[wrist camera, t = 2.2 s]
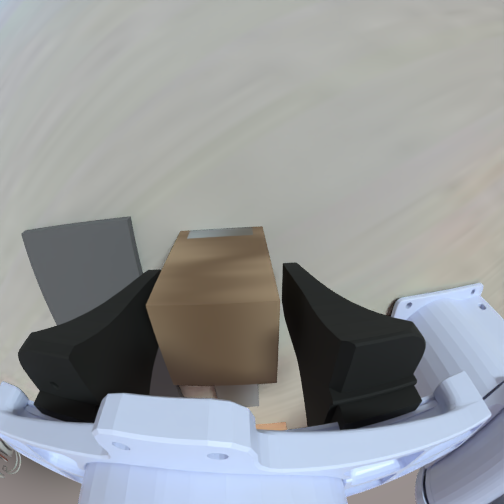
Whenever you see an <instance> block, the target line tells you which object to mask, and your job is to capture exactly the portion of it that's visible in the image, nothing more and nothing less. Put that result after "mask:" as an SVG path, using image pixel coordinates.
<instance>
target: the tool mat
mask: <svg viewBox="0 0 504 504" xmlns="http://www.w3.org/2000/svg"><path fill="white" fill-rule="evenodd" d="M22 238H23V241H24V245H25V248H26V251H27V254H28V257H29V260H30V263H31V266H32V268H33V271H34V274H35V276H36V279H37V282H38V284H39V287H40V289H41V291H42V294H43V296H44V298H45V301H46V303H47V305H48V307H49V310H50V312H51V314H52V316H53V318H54V320H55V322H56V324H57V325H60V324H63V323H65V322H68V321H70V320H73V319H75V318H77V317H79V316H81V315H83V314H85V313H87V312H89V311H91V310H93V309H94V308H96V307H98V306H99V305H101V304H103V303H104V302H106V301H107V300H109V299H110V298H111V297H113V296H114V295H115V294H117V293H118V292H120V291H121V290H122V289H124V288H125V287H126V286H128V285H129V284H130V283H131V282H133V281H134V280H135V279H137V278H138V277H139V276H141V275H142V274H143V272H142V268H141V264H140V260H139V256H138V251H137V247H136V242H135V237H134V232H133V227H132V222H131V217H122V218H113V219H104V220H96V221H88V222H80V223H72V224H65V225H58V226H51V227H45V228H38V229H32V230H26V231H24V232H23V233H22ZM149 395H151V396H164V397H182V398H183V395H182V393H181V390H180V388H179V385H174V384H173V382H172V379H171V377H170V374H169V372H168V369H167V367H166V364H165V361H164V359H163V356H162V353H161V350H160V348H158V351H157V355H156V358H155V362H154V366H153V371H152V378H151V384H150V393H149Z"/></svg>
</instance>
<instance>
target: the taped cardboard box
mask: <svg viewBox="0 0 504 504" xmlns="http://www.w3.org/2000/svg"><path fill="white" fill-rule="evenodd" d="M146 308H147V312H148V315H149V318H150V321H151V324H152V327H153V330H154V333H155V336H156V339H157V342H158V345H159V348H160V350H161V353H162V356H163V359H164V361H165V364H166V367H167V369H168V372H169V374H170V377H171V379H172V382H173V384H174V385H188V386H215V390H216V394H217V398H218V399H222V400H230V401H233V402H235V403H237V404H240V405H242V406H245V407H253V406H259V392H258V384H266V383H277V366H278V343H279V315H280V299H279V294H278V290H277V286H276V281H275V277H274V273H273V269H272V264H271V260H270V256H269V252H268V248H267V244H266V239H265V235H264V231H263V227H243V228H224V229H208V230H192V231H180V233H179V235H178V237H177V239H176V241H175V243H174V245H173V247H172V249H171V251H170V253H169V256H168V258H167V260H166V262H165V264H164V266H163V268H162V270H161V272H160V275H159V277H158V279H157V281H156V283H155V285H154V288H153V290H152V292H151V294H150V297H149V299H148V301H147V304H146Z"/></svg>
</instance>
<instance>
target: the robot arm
mask: <svg viewBox="0 0 504 504" xmlns="http://www.w3.org/2000/svg"><path fill="white" fill-rule="evenodd" d="M160 272H161V270H148V271H146V272H145V273H143V274H142V275H141V276H139V277H138V278H137V279H135V280H134V281H133V282H131V283H130V284H129V285H128V286H126V287H125V288H124V289H122V290H121V291H120V292H118V293H117V294H115V295H114V296H113V297H111V298H110V299H109V300H107V301H106V302H104V303H103V304H101V305H99V306H98V307H96V308H94V309H93V310H91V311H89V312H87V313H85V314H83V315H81V316H79V317H77V318H75V319H73V320H70V321H68V322H65V323H63V324H60V325H57V326H54V327H51V328H48V329H44V330H41V331H37V332H33V333H31V334H30V335H29V337H28V338H27V339H26V341H25V342H24V344H23V345H22V347H21V348H20V350H19V352H18V357H19V361H20V363H21V366H22V367H23V369H24V370H25V372H26V373H27V375H28V376H29V377H30V379H31V380H32V381H33V383H34V384H35V385H36V386H37V388H38V389H39V390H40V392H39V394H38V396H37V398H36V400H35V402H33V401H31V400H29V399H28V397H27V396H26V395H25V394H24V392H23V391H22V390H21V389H19V388H18V387H16V386H14V385H12V384H9V383H7V382H4V381H2V383H1V385H0V438H1V439H3V440H4V441H5V442H6V443H7V444H8V445H10V446H11V447H12V448H13V449H14V450H16V451H17V452H19V453H21V454H22V455H24V456H26V457H28V458H30V459H32V460H33V461H35V462H37V463H39V464H41V465H43V466H45V467H47V468H48V469H51V470H52V471H54V472H57V473H59V474H61V475H63V476H65V477H67V478H69V479H72V480H74V481H77V482H79V483H81V484H82V486H81V491H80V496H79V500H78V504H348V503H347V498H346V497H347V496H351V495H354V494H357V493H360V492H363V491H366V490H369V489H372V488H374V487H377V486H380V485H382V484H385V483H387V482H390V481H392V480H395V479H397V478H399V477H401V476H404V475H406V474H408V473H410V472H412V471H414V470H416V469H418V468H420V467H421V468H420V470H419V472H418V475H417V479H416V485H415V500H416V504H504V319H503V318H502V317H501V316H500V315H499V314H498V313H497V312H496V311H495V310H494V309H493V308H492V307H491V306H490V305H489V304H488V303H487V302H486V301H485V300H484V299H483V298H482V297H481V296H480V295H481V293H482V290H483V285H482V284H481V283H476V284H472V285H467V286H462V287H457V288H452V289H447V290H442V291H437V292H431V293H426V294H420V295H414V296H408V297H402V298H399V299H398V300H397V301H396V303H395V305H394V308H393V311H392V314H391V317H390V316H386V315H383V314H380V313H377V312H374V311H371V310H368V309H366V308H364V307H361V306H359V305H357V304H355V303H353V302H351V301H349V300H347V299H345V298H343V297H341V296H340V295H338V294H336V293H335V292H333V291H332V290H330V289H329V288H327V287H326V286H325V285H323V284H322V283H320V282H319V281H318V280H317V279H315V278H314V277H313V276H312V275H310V274H309V273H308V272H307V271H306V270H305V269H303V268H302V267H301V266H300V265H299V264H297V263H283V279H282V304H283V311H284V317H285V321H286V324H287V327H288V331H289V334H290V337H291V340H292V343H293V347H294V350H295V353H296V357H297V361H298V365H299V371H300V376H301V382H302V389H303V395H304V402H305V410H306V417H307V426H308V427H305V428H298V429H290V430H263V429H256V425H255V417H254V416H253V414H252V413H251V411H250V410H249V409H248V408H246V407H245V406H242V405H240V404H237V403H235V402H233V401H230V400H222V399H214V398H182V397H164V396H151V395H149V393H150V384H151V378H152V371H153V366H154V362H155V358H156V355H157V351H158V348H159V345H158V342H157V339H156V336H155V333H154V330H153V327H152V324H151V321H150V318H149V315H148V312H147V308H146V304H147V301H148V299H149V297H150V294H151V292H152V290H153V288H154V285H155V283H156V281H157V279H158V277H159V275H160Z"/></svg>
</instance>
